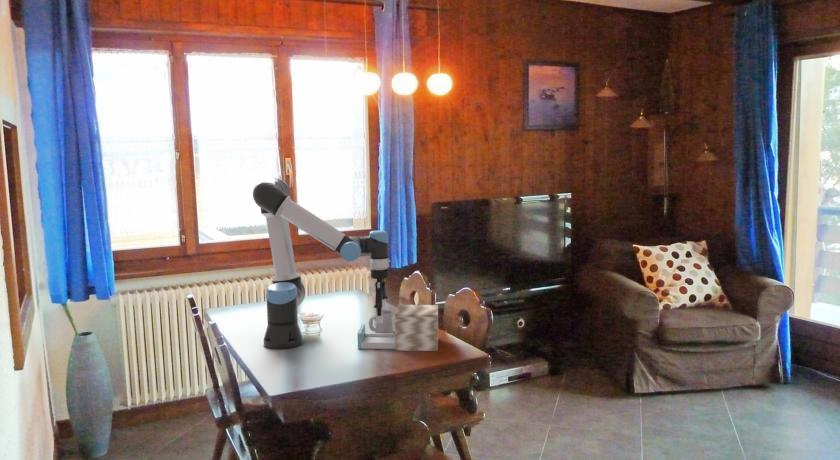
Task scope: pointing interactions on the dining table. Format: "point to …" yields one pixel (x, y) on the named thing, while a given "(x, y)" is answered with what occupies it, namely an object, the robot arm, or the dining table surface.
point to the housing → (416, 327)
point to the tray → (375, 340)
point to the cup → (382, 327)
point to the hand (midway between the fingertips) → (381, 318)
